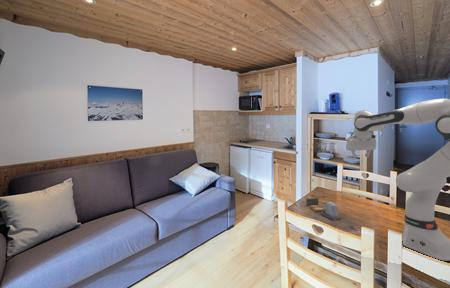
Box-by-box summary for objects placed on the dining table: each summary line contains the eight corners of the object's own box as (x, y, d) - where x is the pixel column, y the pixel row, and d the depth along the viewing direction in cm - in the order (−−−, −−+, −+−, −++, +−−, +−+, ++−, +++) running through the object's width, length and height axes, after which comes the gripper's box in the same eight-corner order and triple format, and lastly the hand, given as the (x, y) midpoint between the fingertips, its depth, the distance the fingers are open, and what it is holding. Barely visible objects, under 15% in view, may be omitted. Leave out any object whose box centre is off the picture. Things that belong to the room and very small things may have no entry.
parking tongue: (341, 219, 141) (341, 217, 141) (331, 220, 140) (331, 218, 140) (328, 212, 153) (328, 210, 153) (319, 213, 152) (319, 211, 151)
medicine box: (337, 218, 143) (338, 205, 142) (331, 218, 143) (331, 205, 142) (331, 213, 151) (331, 201, 150) (324, 214, 150) (325, 201, 150)
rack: (327, 211, 155) (327, 202, 155) (316, 212, 153) (316, 204, 153) (317, 205, 167) (317, 197, 167) (306, 207, 165) (306, 198, 165)
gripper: (351, 136, 137) (350, 158, 138) (378, 135, 141) (377, 157, 142) (343, 136, 143) (343, 157, 144) (370, 135, 148) (369, 155, 148)
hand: (360, 157), depth 143 cm, fingers open, 8 cm apart
